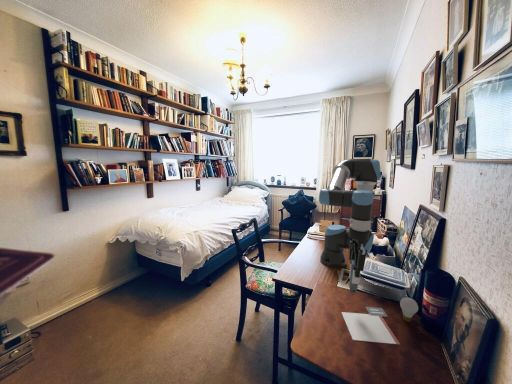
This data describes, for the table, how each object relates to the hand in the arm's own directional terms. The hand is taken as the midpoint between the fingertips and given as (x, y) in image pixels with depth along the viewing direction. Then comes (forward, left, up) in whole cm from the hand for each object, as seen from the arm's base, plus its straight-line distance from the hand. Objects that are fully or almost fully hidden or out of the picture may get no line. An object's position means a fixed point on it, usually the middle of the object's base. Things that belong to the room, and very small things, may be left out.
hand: (354, 280), depth 92 cm
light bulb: (+5, +20, -13) cm, 24 cm away
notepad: (+10, +3, -13) cm, 17 cm away
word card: (+1, +10, -13) cm, 16 cm away
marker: (0, 0, -5) cm, 5 cm away
